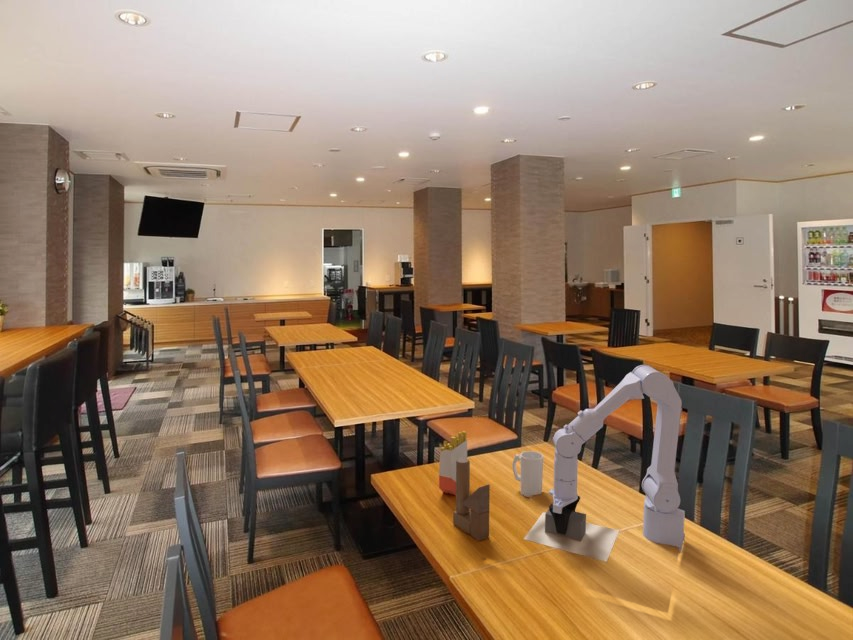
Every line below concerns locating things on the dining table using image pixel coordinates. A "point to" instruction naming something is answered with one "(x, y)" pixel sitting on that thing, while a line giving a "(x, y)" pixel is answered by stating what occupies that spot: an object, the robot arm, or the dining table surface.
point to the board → (592, 544)
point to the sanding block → (574, 528)
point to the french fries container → (451, 462)
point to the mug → (529, 472)
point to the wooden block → (471, 503)
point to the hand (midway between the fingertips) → (564, 528)
